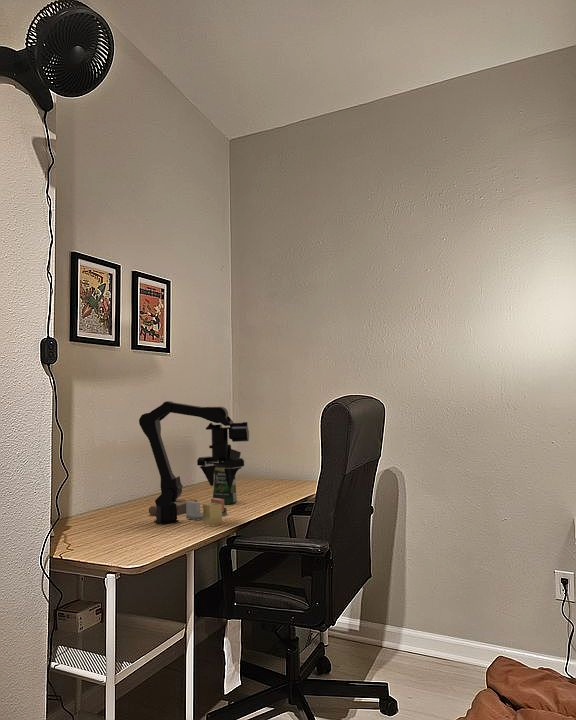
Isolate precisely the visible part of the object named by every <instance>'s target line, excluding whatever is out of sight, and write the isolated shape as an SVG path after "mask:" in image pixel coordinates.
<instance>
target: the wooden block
mask: <svg viewBox="0 0 576 720" xmlns="http://www.w3.org/2000/svg"><path fill="white" fill-rule="evenodd" d="M186 501H195V502H198V501H197V499H184V498H177V500H176V502H174V503H176V507H177V516H180V515H183V514H186V513H185V512H186ZM148 513H149V515H151V516H156V504H153V505H150V507H149V508H148ZM179 514H180V515H179Z"/></svg>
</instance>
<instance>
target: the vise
mask: <svg viewBox="0 0 576 720" xmlns="http://www.w3.org/2000/svg"><path fill="white" fill-rule="evenodd" d="M227 512H228V507H224V512H222V515H223V516H227V515H228V513H227ZM185 518H186V519H188V518H190V519H189V520H192V519H194V520H193V521H198V520H197V519H200V520H203V512H201V502H199V501H197V502H195V501H186V513H185Z"/></svg>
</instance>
